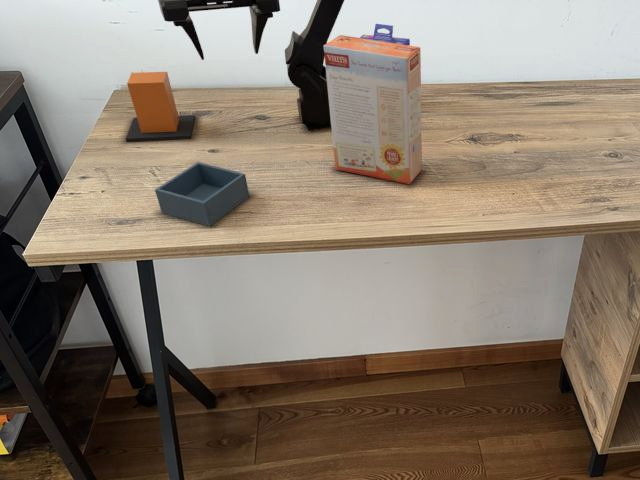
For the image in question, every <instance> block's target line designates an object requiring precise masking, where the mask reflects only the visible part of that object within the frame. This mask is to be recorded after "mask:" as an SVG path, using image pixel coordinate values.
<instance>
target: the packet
mask: <svg viewBox="0 0 640 480" xmlns="http://www.w3.org/2000/svg"><path fill="white" fill-rule="evenodd" d="M169 77H170V76H169V74H168V71H148V72H147V71H146V72H131V73H130V75H129V78H128V81H127V82H126V85H127V89H128V92H129V95H130V98H131V103H132V106H133V109H134V112H135V115H136V118H137V119H138V123H139V126H140V129H141V133H155V132H176V131H177V127H178V123H179V117H178V116H179V113H178V109H177V106H176V101H175V98H174V97H175V96H174V93H173V90H172V85H171V82H170V81H171V80H170V78H169Z"/></svg>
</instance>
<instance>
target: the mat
mask: <svg viewBox="0 0 640 480" xmlns="http://www.w3.org/2000/svg"><path fill="white" fill-rule="evenodd" d="M178 117H179V123H178V127H177V131H176V132H155V133H141V129H140V126H139V123H138V119H137V117H133V118H132V121H131V124H130V126H129V129H128V131H127V134H126V136H125V141H126V143H129V142H131V143H132V142H147V141H148V142H149V141H151V142H152V141H153V142H154V141H171V140H172V141H173V140H191V139H192V135H193V131H194V126H195V122H196V115H195V114H193V115H192V114H191V115H189V114H188V115H178Z"/></svg>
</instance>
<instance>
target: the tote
mask: <svg viewBox="0 0 640 480" xmlns="http://www.w3.org/2000/svg"><path fill="white" fill-rule="evenodd" d="M154 191H155V195H156V198H157V201H158V205H159V209H160V211H161V214H165V215H168V216H172V217H175V218H178V219H183V220H186V221H189V222H193V223H196V224H200V225H203V226H206V227H211V226H212V225H214V224H215V223H216V222H218V221H219V220H220V219H222V218H223V217H225V216H226V215H227V214H228V213H230V212H232V210H234V209H235V208H237V206H239V205H240V204H241V203H243V202H244V201H246V200H247V199H248V198H250V192H249V187H248V181H247V175H246V173H243V172H240V171H236V170H231V169H227V168H224V167H219V166H216V165H212V164H209V163H205V162H201V161H197V162H195V163H194V164H192V165H191V166H189V167H188V168H187V169H185V170H183V171H181V172H180V173H178V174H176V176H173V178H170V179H169V180H167V181H166V182H165V183H163V184H161V185H159V186H158V187H157V188H155V189H154Z"/></svg>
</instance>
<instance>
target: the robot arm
mask: <svg viewBox="0 0 640 480" xmlns="http://www.w3.org/2000/svg"><path fill="white" fill-rule="evenodd" d="M157 2H158V5H159V9H160V13H161V15H162V18H163V20H164V21H165V22H168V23H169V22H172V23H173V25H174V26H175V27H181V28H182V30H183V31H184V33H185V34H186V35H187V37H188V38H189V39H190V40H191V42H192V45H193V46H194V48H195V50H196V52H197V54H198V55H199V57H200V59H201V61H204V60H205V55H204V51H203V48H202V45H201V42H200V38H199V36H198V33H197V30H196V27H195V24H194V21H193V19H192V17H191V15H190V13H191V12H192V13H193V12H202V11H204V12H205V11H214V10H215V11H216V10H225V9H237V8H238V9H239V8H248V9H249V15H250V19H251V20H250V21H251V22H250V23H251V35H252V37H251V38H252V48H253V51H254V54H255V55H258V54H259V51H260V46H261V41H262V38H263V34H264V30H265V28H266V25H267V22H268V20H269V19H271V18H274V13H279V12H281V5H280V0H157ZM344 2H345V0H316V2H315V5H314V7H313V10H312V12H311V14H310V17H309V20H308V23H307V25H306V27H305V28H304V29H303V31H301V33H300V34H298V33H297V32H296V31H295V30H293V31H292V32H291V36H290V40H289V44H288V45H287V47H286V48H285V49H284V59H285V60H284V61H285V65H286V71H287V77H288V80H289V81H290V83H291V84H292V85H293V86H295V87H296V88H298V97H297V98H296V105H297V113H298V119H299V121H300V123H301V124H302V125H303V126H304V127H305V129H306V130H307V131H308V132H314V131H318V130H325V129H332V128H331V118H330V107H329V97H328V87H327V77H326V66H325V55H324V45H325V44H327V43H328V41H329V38H330V36H331V33H332V31H333V29H334V26H335V24H336V22H337V19H338V17H339V15H340V12H341V10H342V7H343V5H344Z"/></svg>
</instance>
